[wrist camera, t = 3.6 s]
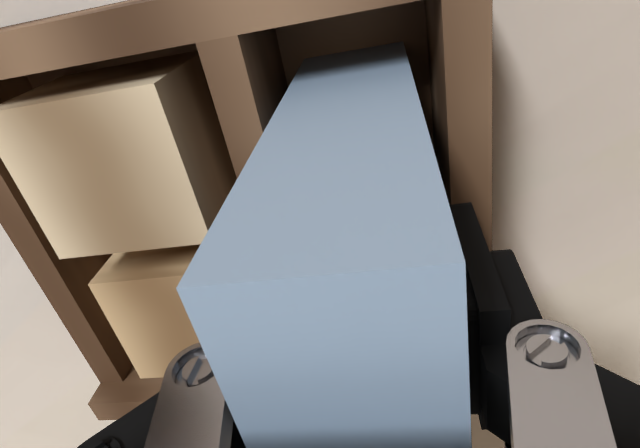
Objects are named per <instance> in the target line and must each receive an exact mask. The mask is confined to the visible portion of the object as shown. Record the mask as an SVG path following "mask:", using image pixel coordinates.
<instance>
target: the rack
mask: <svg viewBox="0 0 640 448" xmlns="http://www.w3.org/2000/svg"><path fill="white" fill-rule="evenodd" d="M402 41H403V43H404V47H405V50H406V54H407V57H408V61H409V64H410V68H411V72H412V75H413V79H414V82H415V86H416V89H417V93H418V96H419V100H420V103H421V107H422V110H423V114H424V117H425V121H426V125H427V128H428V132H429V135H430V139H431V142H432V146H433V149H434V153H435V156H436V160H437V163H438V167H439V170H440V174H441V178H442V181H443V185H444V188H445V192H446V195H447V199H448V202H449V205H450V204H459V203H468V202H471V203H472V205H473V208H474V211H475V213H476V216H477V219H478V221H479V224H480V227H481V230H482V232H483V235H484V238H485V240H486V243H487V246H488V249H489V251H492V0H128V1H123V2H118V3H114V4H109V5H104V6H100V7H95V8H90V9H86V10H81V11H76V12H72V13H67V14H62V15H58V16H53V17H48V18H44V19H39V20H34V21H30V22H25V23H20V24H16V25H11V26H6V27H1V28H0V104H1V103H3V102H5V101H8V100H10V99H12V98H14V97H16V96H19V95H21V94H23V93H25V92H28V91H30V90H32V89H34V88H36V87H39V86H41V85H43V84H45V83H48V82H50V81H52V80H54V79H56V78H59V77H61V76H63V75H68V74H73V73H78V72H84V71H89V70H94V69H100V68H105V67H110V66H116V65H121V64H127V63H132V62H137V61H143V60H148V59H153V58H159V57H164V56H169V55H175V54H180V53H185V52H191V51H196V50H198V53H199V57H200V60H201V63H202V66H203V70H204V73H205V76H206V80H207V83H208V86H209V89H210V93H211V96H212V99H213V102H214V106H215V109H216V112H217V115H218V119H219V122H220V125H221V128H222V132H223V135H224V138H225V141H226V145H227V148H228V151H229V154H230V158H231V161H232V164H233V167H234V171H235V174H236V177H237V178H238V177H239V175H240V173H241V171H242V169H243V168H244V166H245V164H246V162H247V160H248V159H249V157H250V155H251V153H252V152H253V150H254V148H255V146H256V144H257V143H258V141H259V139H260V137H261V135H262V134H263V132H264V130H265V128H266V126H267V125H268V123H269V121H270V119H271V118H272V116H273V114H274V112H275V110H276V109H277V107H278V105H279V103H280V101H281V100H282V98H283V96H284V94H285V93H286V91H287V89H288V87H289V85H290V84H291V82H292V80H293V78H294V76H295V75H296V73H297V71H298V69H299V67H300V66H301V64H302V62H303V60H304V59H305V58H311V57H317V56H322V55H328V54H334V53H339V52H345V51H351V50H356V49H362V48H368V47H374V46H379V45H385V44H391V43H396V42H402ZM0 223H1V225H2V226H3V228H4V230H5V231H6V233H7V234H8V236H9V238H10V239H11V241H12V242H13V244H14V246H15V247H16V249H17V250H18V252H19V254H20V255H21V257H22V258H23V260H24V262H25V263H26V265H27V266H28V268H29V269H30V271H31V273H32V274H33V276H34V277H35V279H36V281H37V282H38V284H39V285H40V287H41V289H42V290H43V292H44V293H45V295H46V297H47V298H48V300H49V301H50V303H51V305H52V306H53V308H54V309H55V311H56V312H57V314H58V316H59V317H60V319H61V320H62V322H63V324H64V325H65V327H66V328H67V330H68V332H69V333H70V335H71V336H72V338H73V340H74V341H75V343H76V344H77V346H78V348H79V349H80V351H81V352H82V354H83V355H84V357H85V359H86V360H87V362H88V363H89V365H90V367H91V368H92V370H93V371H94V373H95V375H96V376H97V378H98V379H99V381H100V385H99V387H98V388H97V390H96V392H95V393H94V395H93V397H92V398H91V400H90V402H89V403H88V405H89V406H90V408H91V409H92V411H93V412H94V414H95V415H96V417H97V418H98V420H118V419H119V418H121V417H122V416H124V415H125V414H127V413H128V412H130V411H131V410H133V409H134V408H136V407H137V406H139V405H140V404H142V403H143V402H145V401H146V400H148V399H149V398H151V397H152V396H154V395H155V394H157V393H158V392H160V388H161V385H162V381H163V377H160V378H141V379H140V377H139V375H138V373H137V371H136V370H135V368H134V366H133V364H132V362H131V361H130V359H129V357H128V355H127V354H126V352H125V350H124V348H123V346H122V345H121V343H120V341H119V339H118V337H117V336H116V334H115V332H114V330H113V329H112V327H111V325H110V323H109V321H108V320H107V318H106V316H105V314H104V312H103V311H102V309H101V307H100V305H99V304H98V302H97V300H96V298H95V296H94V295H93V293H92V291H91V289H90V287H89V286H88V284H89V282H90V281H91V280H92V279H93V278H94V276H95V275H96V274H97V273H98V271H99V270H100V269H101V268H102V267H103V265H104V264H105V263H106V262H107V260H108V259H109V258H110V257H111V256H112V254H104V255H95V256H85V257H76V258H66V259H59V258H58V256H57V254H56V252H55V251H54V249H53V247H52V246H51V244H50V242H49V240H48V239H47V237H46V235H45V233H44V232H43V230H42V228H41V227H40V225H39V223H38V221H37V220H36V218H35V216H34V214H33V213H32V211H31V209H30V208H29V206H28V204H27V202H26V201H25V199H24V197H23V195H22V194H21V192H20V190H19V189H18V187H17V185H16V183H15V182H14V180H13V178H12V176H11V175H10V173H9V171H8V170H7V168H6V166H5V164H4V163H3V161H2V159H1V157H0Z"/></svg>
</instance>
